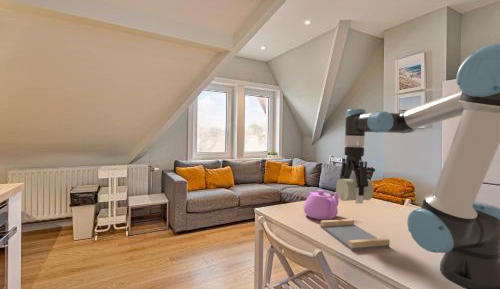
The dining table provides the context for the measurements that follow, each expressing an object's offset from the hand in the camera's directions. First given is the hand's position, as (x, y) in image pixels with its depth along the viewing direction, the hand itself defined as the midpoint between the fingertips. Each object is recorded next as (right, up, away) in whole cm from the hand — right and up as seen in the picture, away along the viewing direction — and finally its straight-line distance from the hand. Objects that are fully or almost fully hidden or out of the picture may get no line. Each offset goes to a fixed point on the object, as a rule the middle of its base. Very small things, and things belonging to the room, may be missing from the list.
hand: (352, 200), depth 104 cm
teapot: (-4, -15, +27) cm, 31 cm away
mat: (0, -15, 0) cm, 15 cm away
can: (+7, +4, +1) cm, 8 cm away
